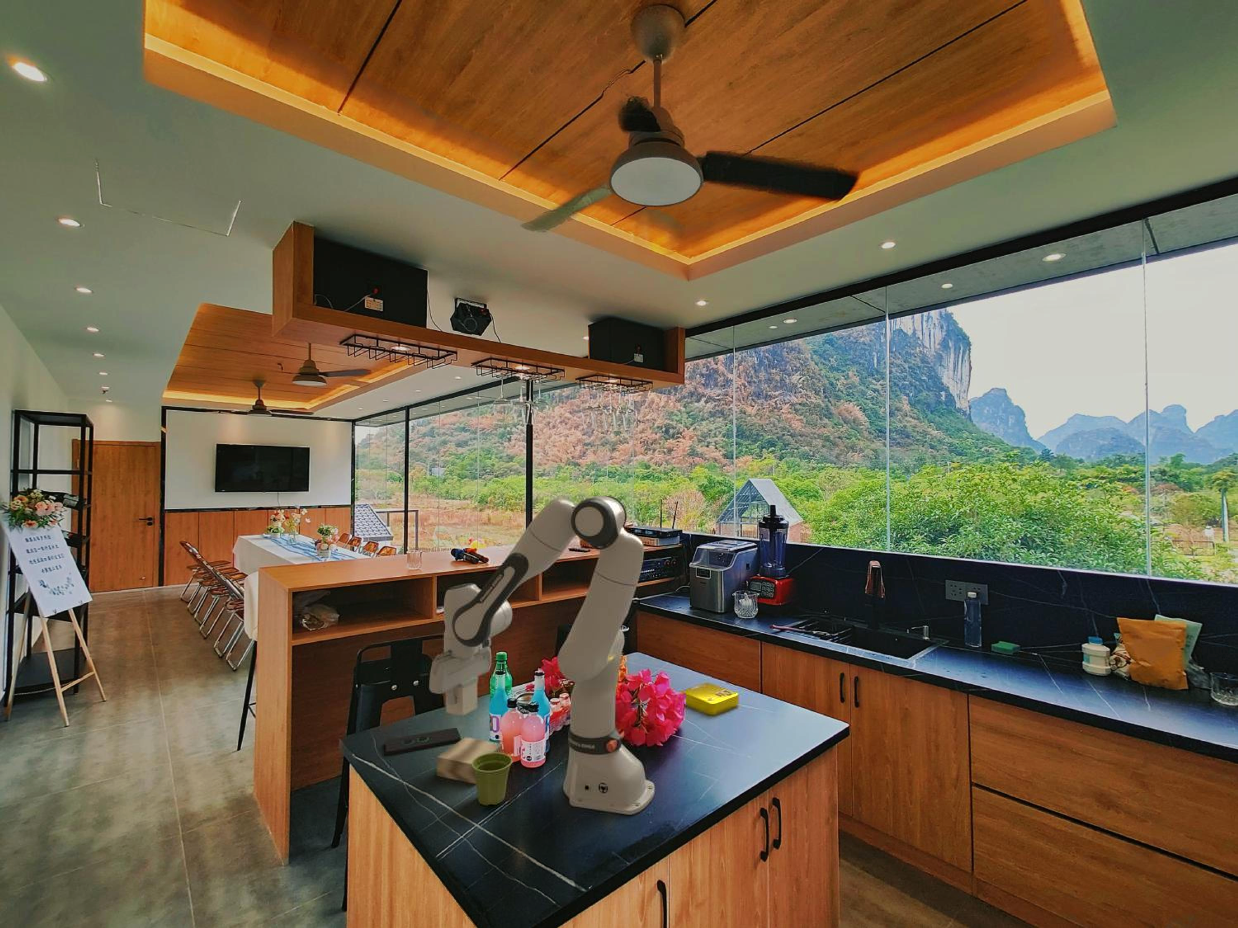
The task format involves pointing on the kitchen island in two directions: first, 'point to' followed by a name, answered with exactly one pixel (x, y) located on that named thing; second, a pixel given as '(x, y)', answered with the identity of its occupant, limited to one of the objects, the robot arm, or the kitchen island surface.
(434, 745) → the smart home device
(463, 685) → the cream tea tin
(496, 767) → the plant pot
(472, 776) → the oak block
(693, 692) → the element tile
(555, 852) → the kitchen island surface
